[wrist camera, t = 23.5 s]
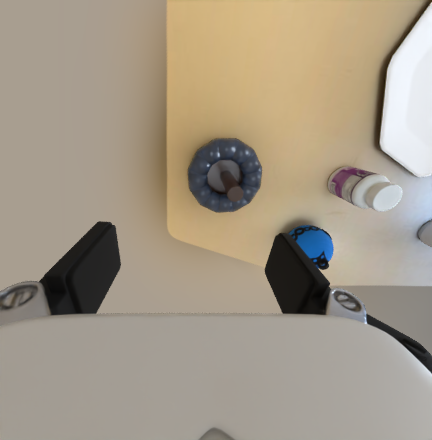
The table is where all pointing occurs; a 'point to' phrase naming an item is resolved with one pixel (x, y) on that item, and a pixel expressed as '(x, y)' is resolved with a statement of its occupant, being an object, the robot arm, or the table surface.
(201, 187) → the ring
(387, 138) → the plate
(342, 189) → the pill bottle
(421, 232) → the energy drink can
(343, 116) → the table surface
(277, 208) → the table surface
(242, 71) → the table surface
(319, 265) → the ornament
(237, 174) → the stand
